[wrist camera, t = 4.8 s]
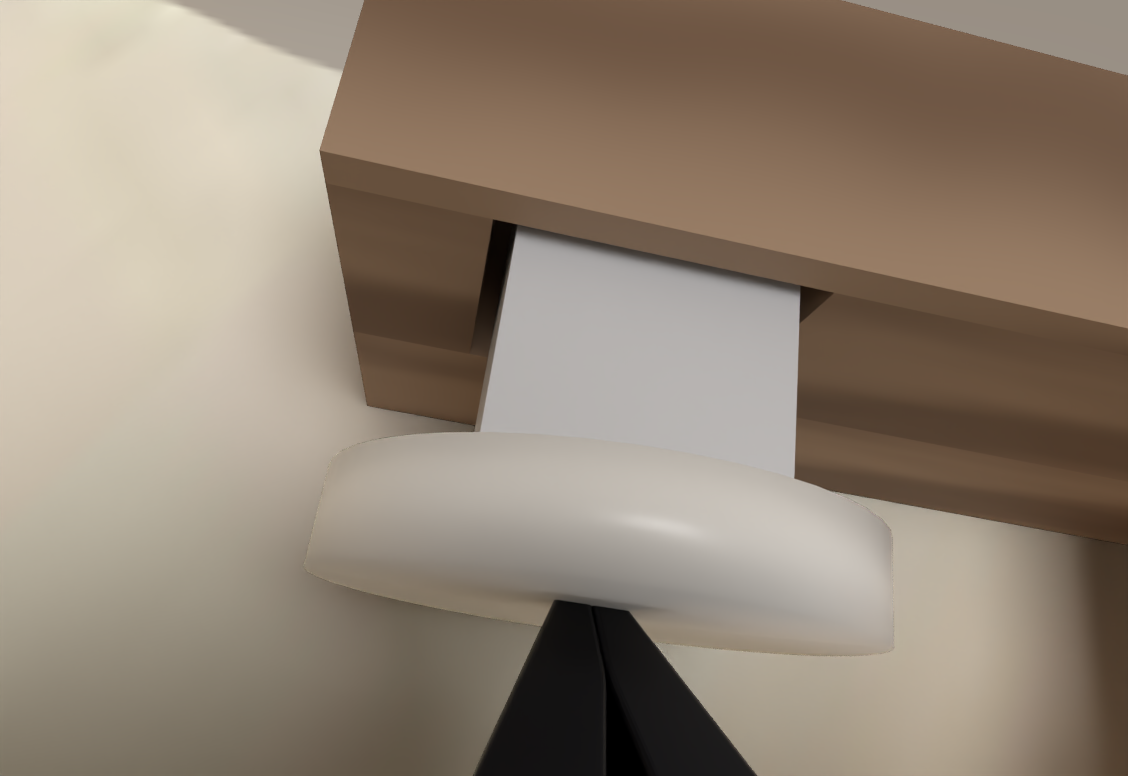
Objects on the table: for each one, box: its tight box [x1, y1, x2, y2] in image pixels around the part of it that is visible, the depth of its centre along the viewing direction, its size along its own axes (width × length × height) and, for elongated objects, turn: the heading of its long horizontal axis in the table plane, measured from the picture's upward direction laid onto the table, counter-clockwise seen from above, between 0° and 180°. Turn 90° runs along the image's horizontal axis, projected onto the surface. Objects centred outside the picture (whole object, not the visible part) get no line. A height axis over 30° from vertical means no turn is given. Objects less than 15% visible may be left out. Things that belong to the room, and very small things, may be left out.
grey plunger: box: [303, 224, 894, 656], centre depth 11 cm, size 9×7×7 cm
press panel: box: [319, 0, 1128, 545], centre depth 14 cm, size 4×22×9 cm, turn 82°
